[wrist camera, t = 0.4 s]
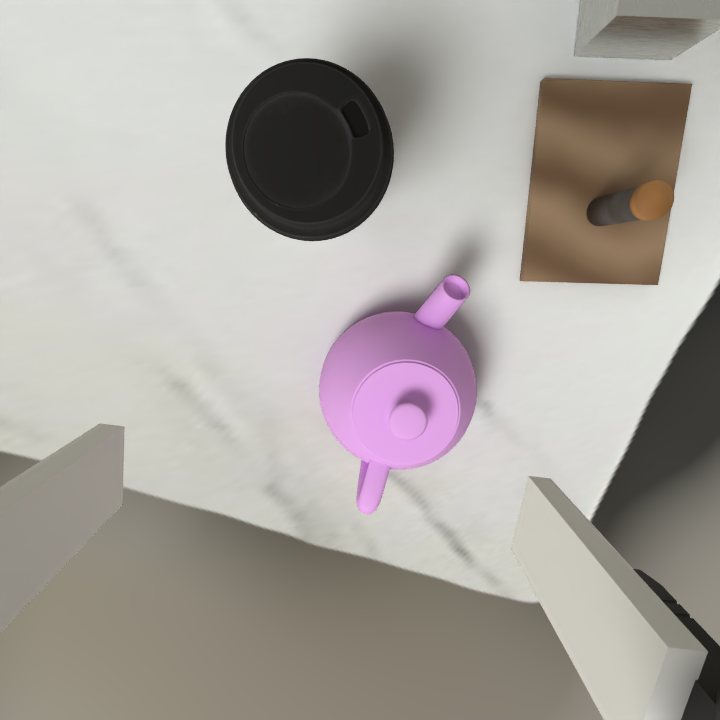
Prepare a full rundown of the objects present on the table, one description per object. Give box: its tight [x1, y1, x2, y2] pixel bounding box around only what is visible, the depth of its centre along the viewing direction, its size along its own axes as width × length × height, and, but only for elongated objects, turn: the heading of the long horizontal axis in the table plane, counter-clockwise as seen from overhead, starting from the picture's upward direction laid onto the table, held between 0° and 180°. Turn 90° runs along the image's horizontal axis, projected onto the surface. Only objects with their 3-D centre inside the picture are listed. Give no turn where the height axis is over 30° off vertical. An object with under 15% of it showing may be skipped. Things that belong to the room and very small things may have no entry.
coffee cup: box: [226, 58, 394, 241], centre depth 30 cm, size 9×9×15 cm
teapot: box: [319, 274, 477, 514], centre depth 36 cm, size 14×20×11 cm
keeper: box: [520, 78, 692, 285], centre depth 34 cm, size 16×12×8 cm
